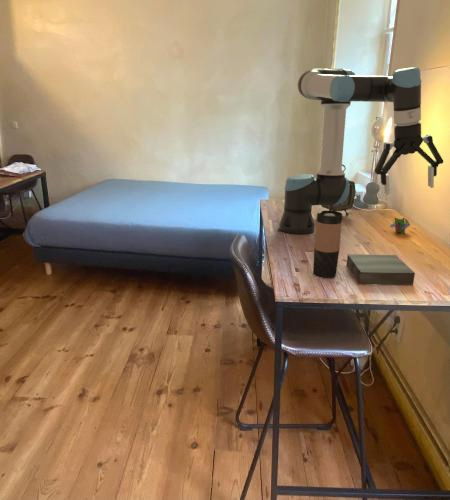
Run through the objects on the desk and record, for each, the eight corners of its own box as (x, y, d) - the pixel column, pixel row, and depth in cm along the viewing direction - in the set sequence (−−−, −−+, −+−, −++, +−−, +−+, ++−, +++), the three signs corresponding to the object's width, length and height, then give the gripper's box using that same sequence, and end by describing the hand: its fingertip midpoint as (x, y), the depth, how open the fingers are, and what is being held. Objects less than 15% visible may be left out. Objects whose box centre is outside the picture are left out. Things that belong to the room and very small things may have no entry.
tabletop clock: (328, 219, 201) (332, 166, 193) (316, 215, 209) (320, 163, 201) (352, 216, 206) (358, 164, 198) (340, 212, 214) (345, 162, 206)
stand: (346, 265, 144) (347, 254, 142) (394, 266, 143) (395, 254, 142) (359, 284, 128) (361, 272, 127) (412, 285, 128) (415, 272, 127)
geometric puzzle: (400, 231, 174) (408, 215, 175) (385, 228, 179) (393, 211, 180) (406, 239, 179) (414, 223, 180) (391, 235, 184) (399, 219, 185)
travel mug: (339, 278, 132) (345, 216, 126) (314, 278, 133) (319, 216, 126) (333, 269, 140) (339, 210, 133) (310, 269, 140) (314, 210, 133)
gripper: (368, 132, 127) (372, 200, 135) (456, 116, 124) (454, 186, 132) (362, 129, 133) (366, 193, 142) (445, 113, 130) (444, 180, 139)
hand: (408, 190), depth 137 cm, fingers open, 13 cm apart
